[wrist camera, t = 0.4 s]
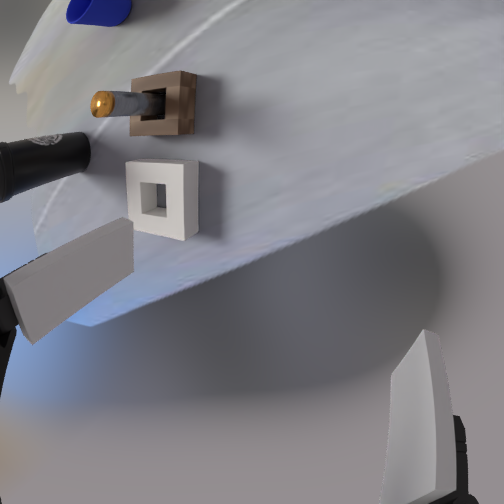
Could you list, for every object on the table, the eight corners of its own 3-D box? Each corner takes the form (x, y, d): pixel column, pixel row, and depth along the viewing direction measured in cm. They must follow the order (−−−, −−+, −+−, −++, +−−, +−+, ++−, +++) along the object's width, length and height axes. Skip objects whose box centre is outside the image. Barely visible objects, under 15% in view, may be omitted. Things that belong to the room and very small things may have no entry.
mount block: (148, 81, 37) (131, 79, 34) (196, 74, 34) (180, 70, 31) (146, 134, 41) (129, 136, 37) (193, 133, 38) (177, 134, 35)
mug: (115, -15, 30) (77, -26, 22) (144, 0, 31) (103, -14, 22) (93, 17, 35) (55, 11, 26) (118, 36, 35) (75, 29, 27)
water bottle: (94, 129, 44) (-14, 150, 24) (92, 179, 49) (-9, 215, 29) (67, 126, 47) (-27, 146, 27) (66, 172, 51) (-23, 202, 31)
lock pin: (161, 96, 37) (91, 93, 25) (178, 94, 36) (108, 88, 24) (161, 116, 39) (90, 119, 27) (177, 115, 38) (107, 116, 26)
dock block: (142, 158, 43) (125, 162, 39) (198, 161, 39) (183, 164, 36) (145, 221, 47) (129, 228, 44) (198, 231, 44) (184, 240, 41)
